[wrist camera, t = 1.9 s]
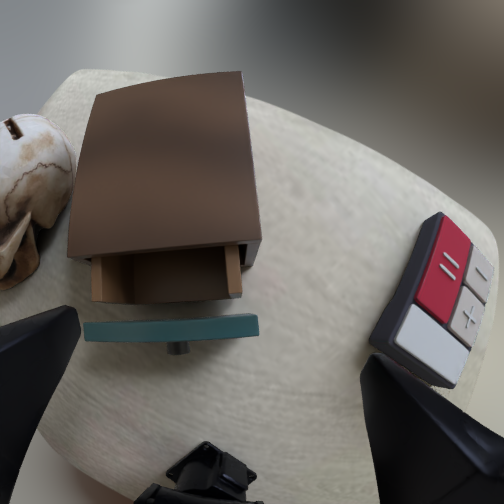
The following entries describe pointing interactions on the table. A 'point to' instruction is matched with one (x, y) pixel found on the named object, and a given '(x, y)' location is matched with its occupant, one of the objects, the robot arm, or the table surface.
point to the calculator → (436, 305)
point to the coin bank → (30, 189)
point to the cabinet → (166, 171)
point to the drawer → (169, 295)
